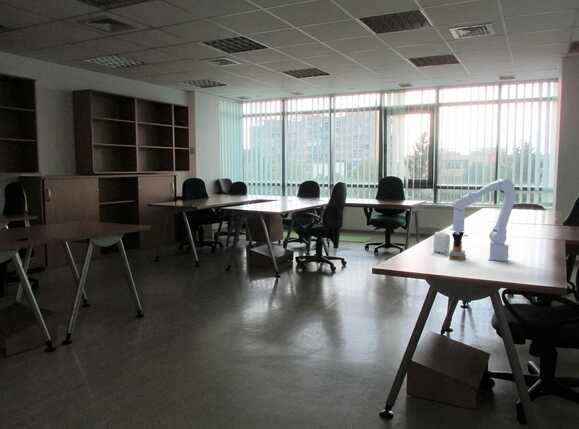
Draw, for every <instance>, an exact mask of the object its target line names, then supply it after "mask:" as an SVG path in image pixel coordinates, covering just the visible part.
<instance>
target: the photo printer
mask: <svg viewBox="0 0 579 429" xmlns="http://www.w3.org/2000/svg"><path fill="white" fill-rule="evenodd" d="M450 242H451V236H450V234H449V233H448V232H445V231H436V232H434V234H433V252H436V253H439V252H440V253H441V254H444V253H445V254H444V255H449V254H450V247H451V246H450ZM446 253H447V254H446ZM448 253H449V254H448Z"/></svg>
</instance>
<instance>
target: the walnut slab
mask: <svg viewBox="0 0 579 429" xmlns="http://www.w3.org/2000/svg"><path fill="white" fill-rule="evenodd" d="M448 258H449V260H454V259H457V261H458V260H459V261H465V260H466V258H467V254H465V255H464V257H461V256H450V255H449V257H448Z"/></svg>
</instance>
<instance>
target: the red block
mask: <svg viewBox="0 0 579 429" xmlns="http://www.w3.org/2000/svg"><path fill="white" fill-rule="evenodd" d="M452 244H453V245H452V249H453V251H461V250H463V249H462V248H463V247H462V246H463V241H462V240H461V241H460V246H459V247H455V244H454V242H453V243H452Z"/></svg>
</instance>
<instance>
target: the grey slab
mask: <svg viewBox="0 0 579 429" xmlns="http://www.w3.org/2000/svg"><path fill="white" fill-rule="evenodd" d="M464 255H466V250H465V249H462V250H461V251H453V248H452V249H450V250H449V257H450V256H461V257H464Z"/></svg>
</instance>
